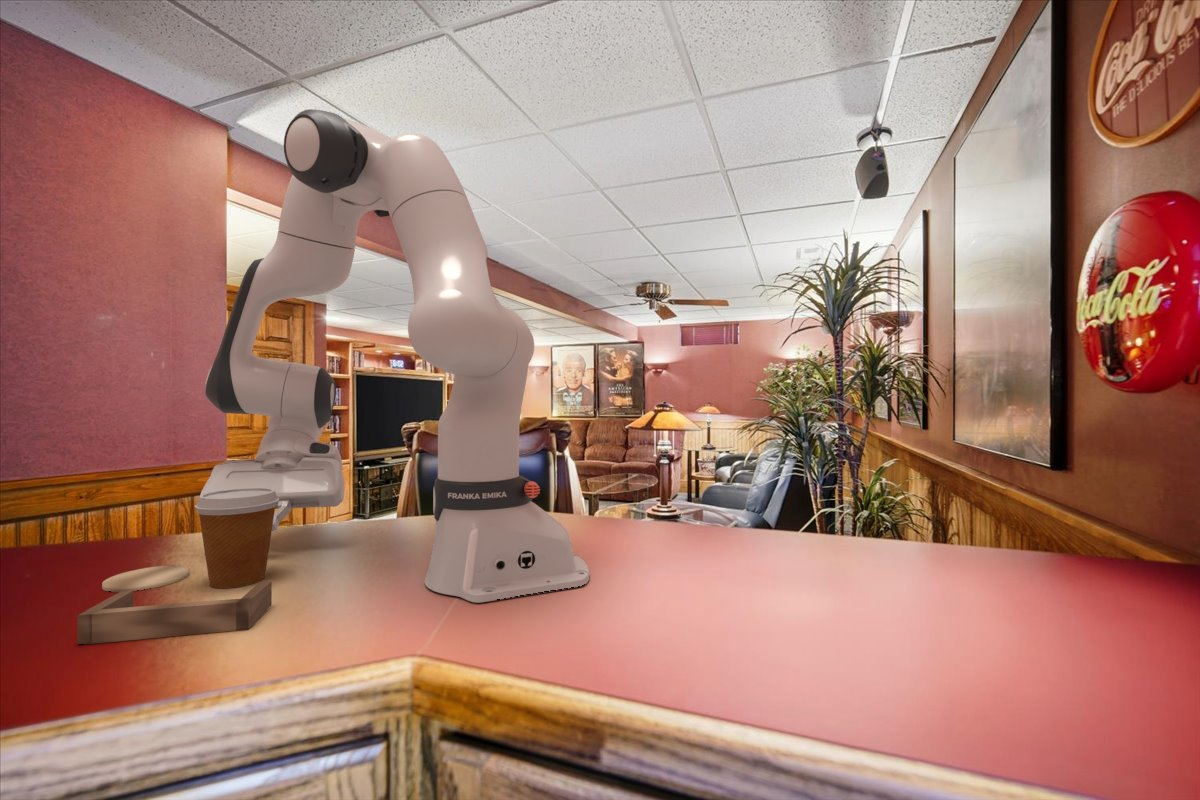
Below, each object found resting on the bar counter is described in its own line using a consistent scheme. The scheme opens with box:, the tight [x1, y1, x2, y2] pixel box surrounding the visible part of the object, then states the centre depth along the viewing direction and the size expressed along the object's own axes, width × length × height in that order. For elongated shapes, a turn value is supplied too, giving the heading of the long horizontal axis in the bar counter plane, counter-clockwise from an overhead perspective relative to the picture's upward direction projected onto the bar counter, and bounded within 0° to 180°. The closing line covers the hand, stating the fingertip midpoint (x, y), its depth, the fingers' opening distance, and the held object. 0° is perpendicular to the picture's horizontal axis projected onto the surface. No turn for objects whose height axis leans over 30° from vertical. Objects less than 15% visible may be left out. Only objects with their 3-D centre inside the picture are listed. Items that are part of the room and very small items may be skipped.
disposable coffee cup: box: [194, 488, 279, 589], centre depth 72 cm, size 10×10×12 cm
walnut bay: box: [77, 580, 273, 645], centre depth 58 cm, size 15×7×3 cm, turn 104°
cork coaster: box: [101, 564, 190, 593], centre depth 72 cm, size 9×9×1 cm
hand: (264, 529), depth 81 cm, fingers closed
